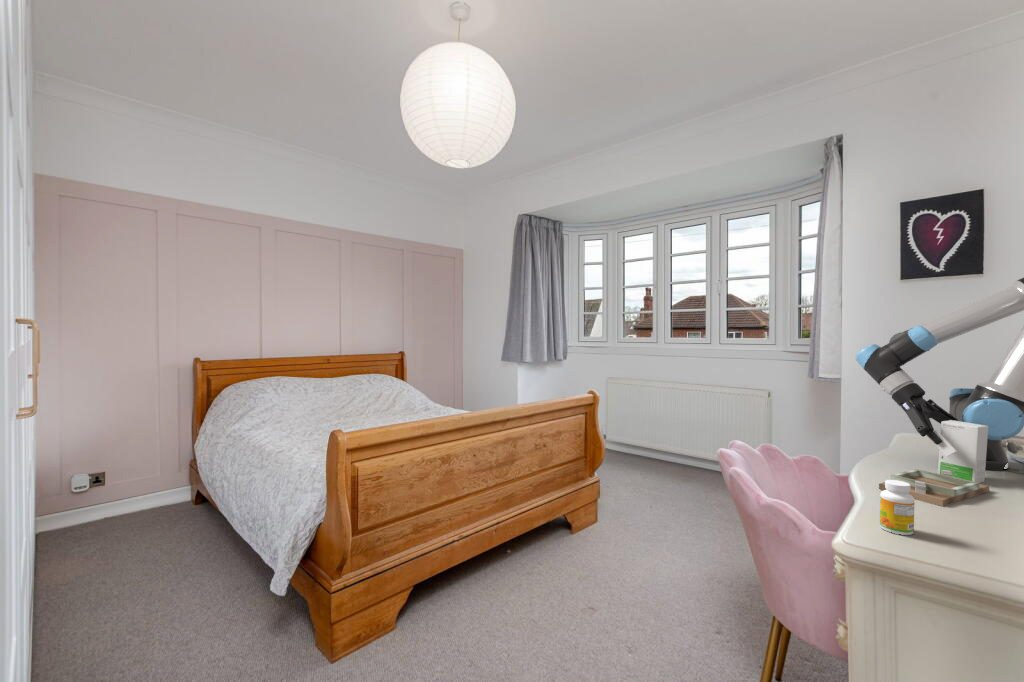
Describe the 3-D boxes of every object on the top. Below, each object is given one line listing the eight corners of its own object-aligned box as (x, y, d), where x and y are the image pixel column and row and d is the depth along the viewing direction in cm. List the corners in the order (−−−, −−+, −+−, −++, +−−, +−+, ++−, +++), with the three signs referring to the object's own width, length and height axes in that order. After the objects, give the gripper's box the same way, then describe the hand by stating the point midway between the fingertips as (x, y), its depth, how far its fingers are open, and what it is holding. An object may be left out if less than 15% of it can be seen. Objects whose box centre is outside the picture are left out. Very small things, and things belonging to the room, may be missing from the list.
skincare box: (936, 476, 133) (938, 421, 133) (947, 473, 136) (949, 419, 136) (976, 485, 126) (978, 426, 126) (987, 482, 129) (989, 424, 129)
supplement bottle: (875, 523, 100) (876, 477, 100) (907, 527, 98) (908, 480, 98) (884, 533, 95) (886, 484, 95) (918, 537, 93) (919, 488, 93)
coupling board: (926, 477, 132) (926, 465, 132) (989, 491, 121) (989, 478, 121) (878, 489, 122) (879, 476, 122) (942, 506, 110) (943, 492, 110)
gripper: (913, 395, 151) (972, 454, 138) (869, 398, 140) (928, 463, 127) (935, 380, 146) (998, 440, 133) (890, 382, 135) (955, 448, 122)
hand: (964, 451), depth 130 cm, fingers open, 13 cm apart
